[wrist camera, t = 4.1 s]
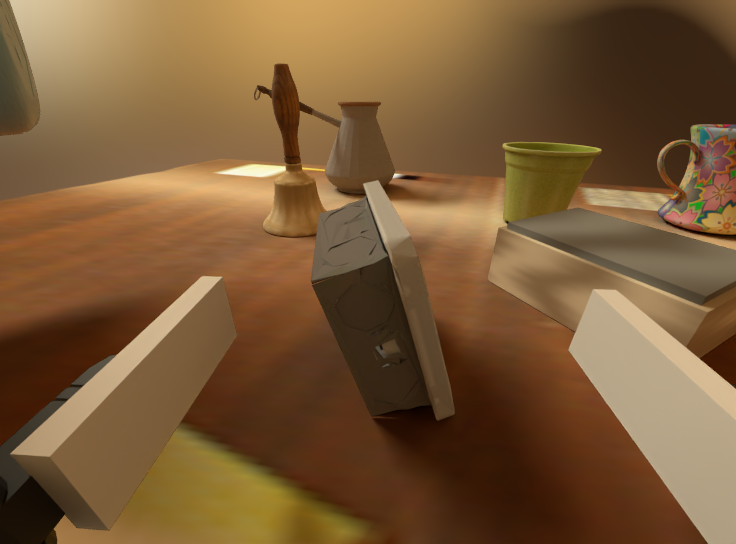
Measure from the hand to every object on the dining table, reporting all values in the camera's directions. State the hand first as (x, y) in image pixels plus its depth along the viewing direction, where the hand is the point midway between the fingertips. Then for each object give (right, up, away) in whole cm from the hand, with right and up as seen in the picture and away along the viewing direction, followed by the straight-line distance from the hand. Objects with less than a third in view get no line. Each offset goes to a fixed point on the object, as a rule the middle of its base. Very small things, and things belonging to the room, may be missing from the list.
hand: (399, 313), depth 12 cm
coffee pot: (-7, +16, +42) cm, 45 cm away
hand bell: (-9, +7, +26) cm, 28 cm away
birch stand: (+15, -1, +11) cm, 19 cm away
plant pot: (+18, +7, +26) cm, 33 cm away
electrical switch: (0, -4, +6) cm, 7 cm away
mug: (+37, +7, +26) cm, 45 cm away
